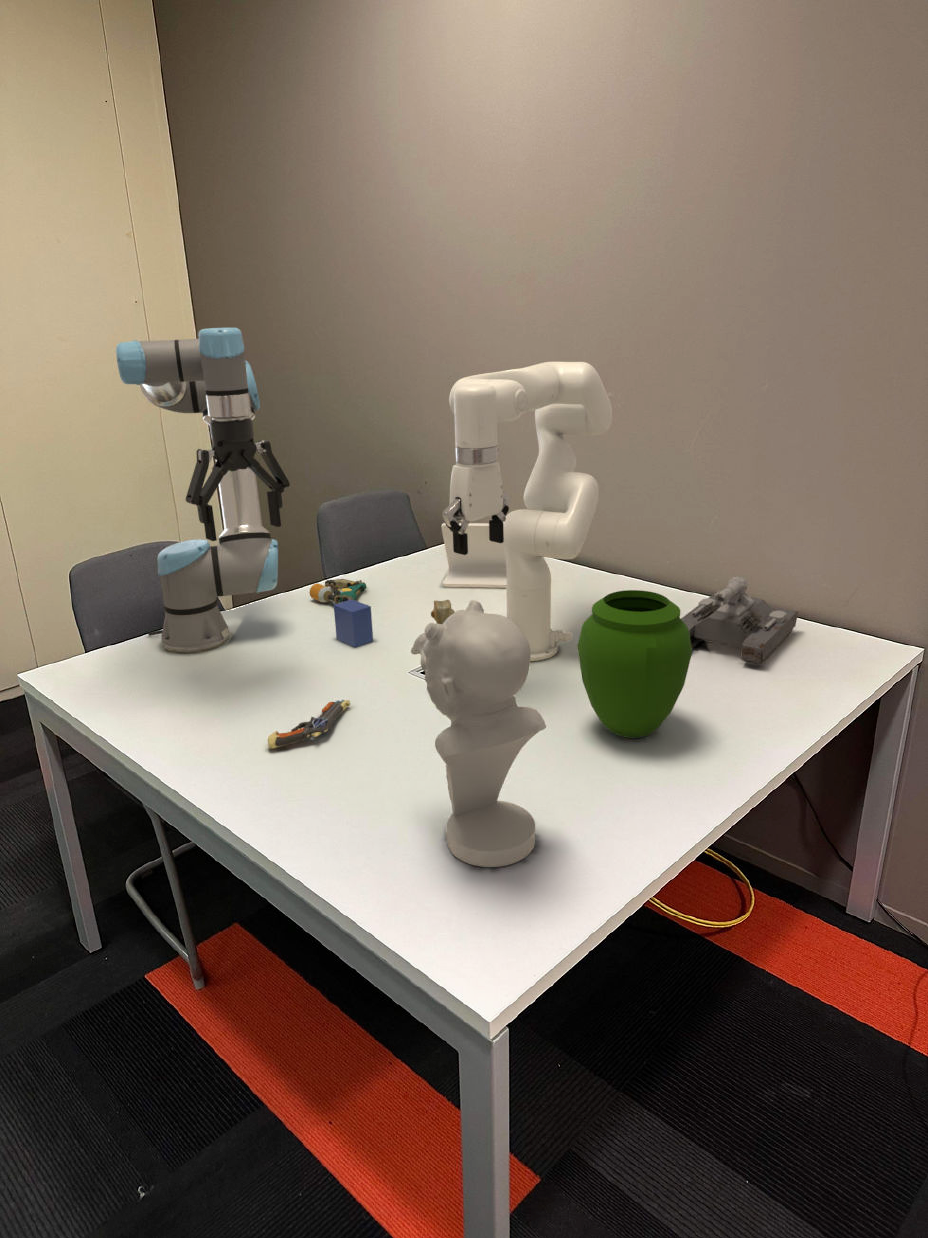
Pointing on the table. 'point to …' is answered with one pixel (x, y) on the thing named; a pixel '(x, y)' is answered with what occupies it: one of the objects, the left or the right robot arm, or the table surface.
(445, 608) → the sculpture
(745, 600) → the toy
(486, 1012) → the table surface
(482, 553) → the tablet stand
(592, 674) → the vase
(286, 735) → the toy gun
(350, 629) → the block
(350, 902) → the table surface
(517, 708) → the bust sculpture
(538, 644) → the right robot arm
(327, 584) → the spray gun
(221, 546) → the left robot arm
